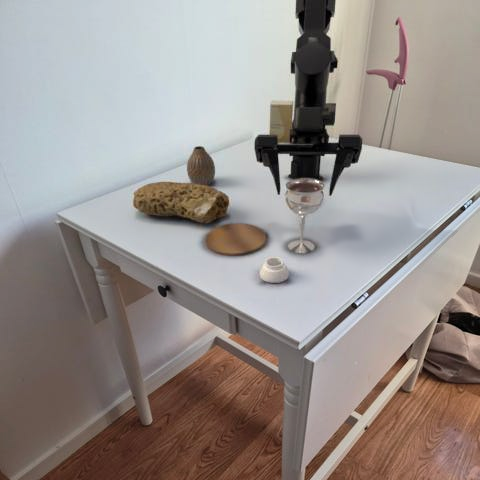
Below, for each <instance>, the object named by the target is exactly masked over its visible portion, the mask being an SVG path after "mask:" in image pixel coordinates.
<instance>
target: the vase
mask: <svg viewBox="0 0 480 480" xmlns="http://www.w3.org/2000/svg"><path fill="white" fill-rule="evenodd" d="M186 172H187V177H188V179H189V181H190V182H191V184H200V185H206V186H210V185H211V183H212V182H213V181H214V180H215V176H216V165H215V162H214V160H213V157H212V156H211V155H210V154H209V153H208V152H207V150H206V149H205V147H204V146H202V145H199V146H198V145H197V146H195V147H194V148H193V150H192V153H191V154H190V156H189V158H188V160H187V164H186Z"/></svg>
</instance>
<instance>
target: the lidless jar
mask: <svg viewBox="0 0 480 480" xmlns="http://www.w3.org/2000/svg"><path fill="white" fill-rule="evenodd" d="M259 277H260V279H261V280H262V281H264V282H267V283H271V284H277V283H281V282H284V281H287V280H288V278H289V277H290V271H289V269H288V267H287V265H286V264H285V262H284V260H283V259H282V258H280V257H278V256H271V257H268V258H266V260H265V261H264V264H263V265H262V267H260V270H259Z"/></svg>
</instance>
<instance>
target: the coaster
mask: <svg viewBox="0 0 480 480" xmlns="http://www.w3.org/2000/svg"><path fill="white" fill-rule="evenodd" d="M205 236H206V237H205V239H204V240H205V241H204V242H205V244H206V245H205V246H206V247H207V248H208V249H209V250H211V251H212V252H213V253H215V254H219V255H224V256H244V255H248V254H252V253H255V252H256V251H258V250H260V249H262V248H263V247H264V246H265V244H266V242H267V234H266V233H265V231H264V230H263V229H262V228H260V227H258V226H256V225H253V224H248V223H228V224H223V225H220V226H217V227H214V228H213V229H212V230H210V231H209V232H208V233H207V234H206V235H205Z"/></svg>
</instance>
